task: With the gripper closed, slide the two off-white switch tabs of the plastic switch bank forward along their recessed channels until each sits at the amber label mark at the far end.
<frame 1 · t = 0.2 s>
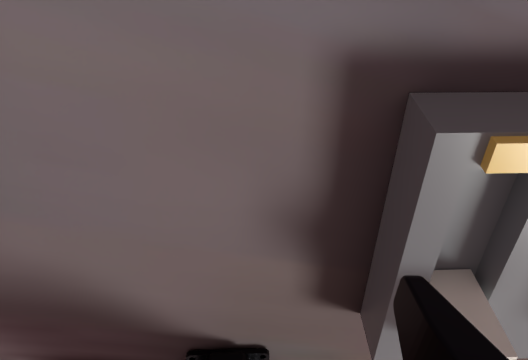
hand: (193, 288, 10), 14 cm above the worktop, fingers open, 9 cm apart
tab a: (456, 330, 27), point 5 cm above the worktop, slide at 0.0 cm
switch bank: (520, 221, 29), on the worktop
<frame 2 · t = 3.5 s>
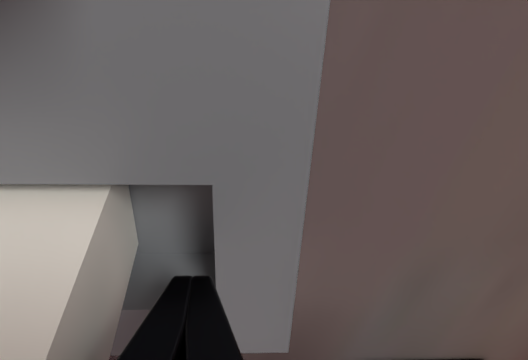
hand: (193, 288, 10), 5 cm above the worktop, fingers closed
tab a: (5, 293, 9), point 5 cm above the worktop, slide at 1.3 cm, touching gripper
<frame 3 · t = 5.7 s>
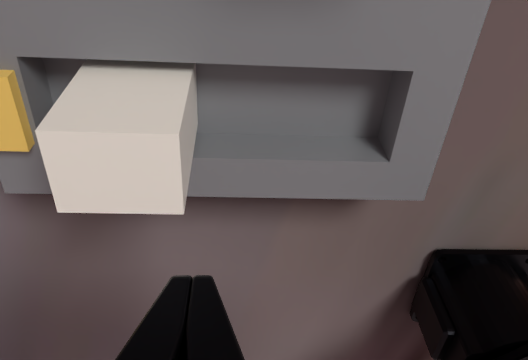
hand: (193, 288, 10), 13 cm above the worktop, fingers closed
tab a: (133, 126, 16), point 5 cm above the worktop, slide at 7.1 cm
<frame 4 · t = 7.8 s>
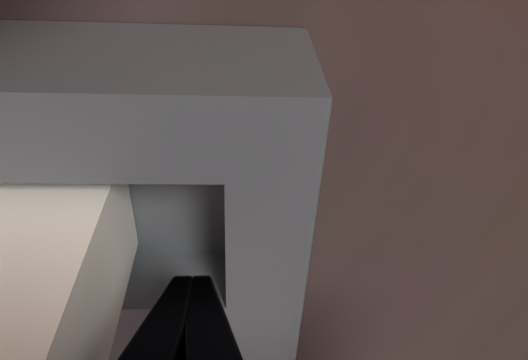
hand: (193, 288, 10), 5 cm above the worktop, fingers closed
switch bank: (33, 272, 16), on the worktop
tab b: (5, 292, 9), point 5 cm above the worktop, slide at 1.5 cm, touching gripper
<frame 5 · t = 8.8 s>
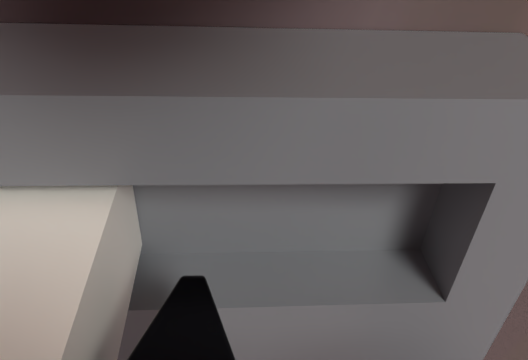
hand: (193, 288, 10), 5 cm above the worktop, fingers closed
switch bank: (197, 272, 17), on the worktop
tab b: (13, 295, 9), point 5 cm above the worktop, slide at 7.3 cm, touching gripper
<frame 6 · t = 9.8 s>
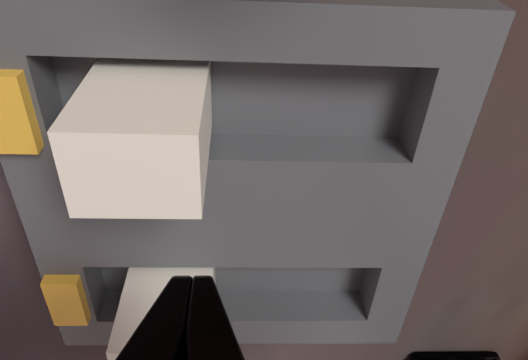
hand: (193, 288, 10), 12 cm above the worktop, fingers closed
tab a: (169, 314, 21), point 5 cm above the worktop, slide at 7.1 cm
switch bank: (236, 166, 23), on the worktop
tab b: (147, 127, 15), point 5 cm above the worktop, slide at 7.1 cm
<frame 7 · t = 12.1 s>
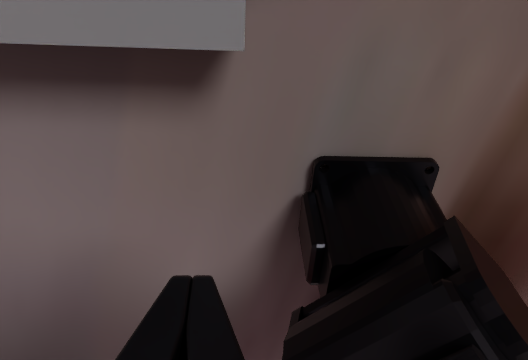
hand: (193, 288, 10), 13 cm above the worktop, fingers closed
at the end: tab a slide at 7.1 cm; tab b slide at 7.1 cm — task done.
